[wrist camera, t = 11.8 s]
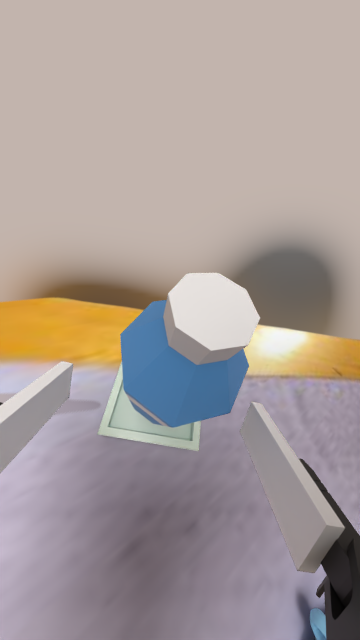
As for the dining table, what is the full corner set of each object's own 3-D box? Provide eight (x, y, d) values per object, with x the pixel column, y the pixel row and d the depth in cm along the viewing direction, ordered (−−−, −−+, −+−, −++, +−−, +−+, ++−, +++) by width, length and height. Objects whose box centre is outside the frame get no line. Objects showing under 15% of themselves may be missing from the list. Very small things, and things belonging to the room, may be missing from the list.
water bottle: (120, 382, 28) (59, 264, 7) (168, 353, 32) (222, 223, 11) (149, 438, 25) (195, 533, 4) (198, 399, 29) (352, 342, 8)
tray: (201, 360, 34) (205, 356, 31) (194, 448, 26) (198, 451, 24) (129, 344, 32) (129, 339, 30) (100, 433, 25) (97, 434, 23)
